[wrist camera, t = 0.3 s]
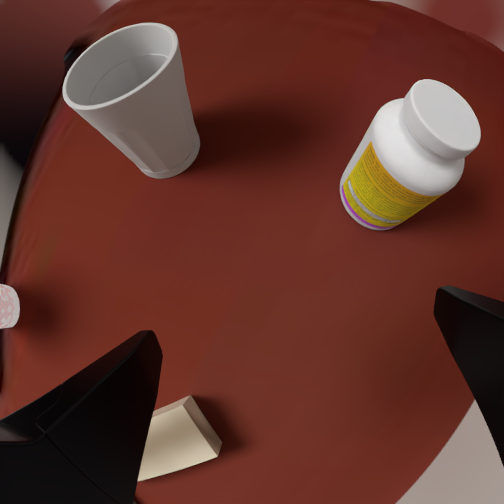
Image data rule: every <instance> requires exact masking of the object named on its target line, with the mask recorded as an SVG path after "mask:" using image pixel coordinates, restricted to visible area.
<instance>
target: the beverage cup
mask: <svg viewBox="0 0 504 504" xmlns="http://www.w3.org/2000/svg"><path fill="white" fill-rule="evenodd" d="M19 312H20V306H19V299H18V296H17V293H16V292H15V290H14V289H13V288H12V287H10V286H7V285H2V284H0V328H8V327H13V326H14V325H15V324H16V323H17V320H18V318H19Z"/></svg>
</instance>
